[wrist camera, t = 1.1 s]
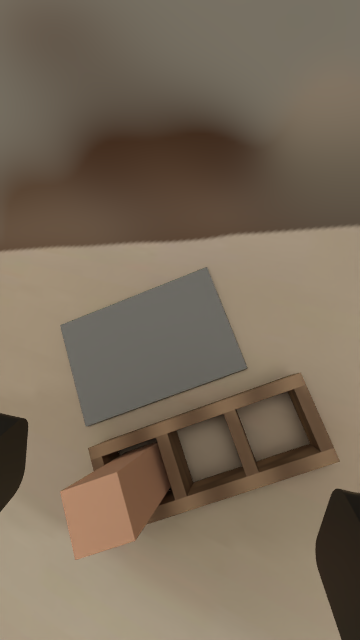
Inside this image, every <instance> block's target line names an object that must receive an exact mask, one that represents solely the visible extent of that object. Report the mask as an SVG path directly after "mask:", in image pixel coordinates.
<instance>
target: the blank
mask: <svg viewBox="0 0 360 640" xmlns="http://www.w3.org/2000/svg"><path fill="white" fill-rule="evenodd" d="M170 487H171V485H170V482H169V478H168V475H167V472H166V469H165V465H164V462H163V459H162V455H161V452H160V449H159V446H158V442H154V443H151V444H149V445H146V446H143V447H140V448H137V449H134V450H131V451H129V452H126V453H124V454H122V455H121V456H119V457H117V458H116V459H114V460H112V461H111V462H109V463H107V464H106V465H104V466H102V467H101V468H99V469H97V470H95V471H94V472H92V473H90V474H89V475H87V476H85V477H84V478H82V479H80V480H79V481H77V482H75V483H74V484H72V485H70V486H69V487H67V488H65V489H64V490H62V491H60V493H61V497H62V502H63V506H64V511H65V515H66V520H67V524H68V529H69V533H70V538H71V542H72V547H73V552H74V556H75V560H77V559H80V558H83V557H86V556H89V555H92V554H96V553H99V552H102V551H105V550H108V549H111V548H114V547H117V546H120V545H124V544H127V543H130V542H133V541H135V540H136V539H137V537H138V536H139V534H140V533H141V531H142V530H143V528H144V527H145V525H146V524H147V522H148V521H149V519H150V518H151V516H152V514H153V513H154V511H155V510H156V508H157V507H158V505H159V504H160V502H161V501H162V499H163V498H164V496H165V495H166V493H167V492H168V490H169V488H170Z"/></svg>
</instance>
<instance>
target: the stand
mask: <svg viewBox="0 0 360 640" xmlns="http://www.w3.org/2000/svg"><path fill="white" fill-rule="evenodd" d="M286 391H288V393H289V395H290V397H291V400H292V402H293V405H294V407H295V409H296V412H297V414H298V416H299V419H300V421H301V423H302V426H303V428H304V430H305V433H306V435H307V437H308V440H309V442H310V444H308V445H305V446H302V447H299V448H296V449H293V450H290V451H287V452H284V453H281V454H278V455H275V456H272V457H269V458H266V459H263V460H260V461H257V462H256V461H255V458H254V455H253V453H252V450H251V447H250V445H249V442H248V439H247V437H246V434H245V431H244V429H243V426H242V423H241V421H240V418H239V416H238V413H237V410H236V409H238V408H241V407H244V406H247V405H249V404H252V403H255V402H258V401H261V400H264V399H267V398H269V397H272V396H275V395H278V394H281V393H284V392H286ZM221 414H224V416H225V419H226V422H227V425H228V427H229V430H230V433H231V435H232V438H233V441H234V444H235V446H236V449H237V452H238V455H239V457H240V460H241V463H242V465H243V466H242V467H239V468H236V469H233V470H230V471H227V472H224V473H221V474H218V475H215V476H212V477H209V478H206V479H203V480H200V481H197V482H194V483H193V481H192V478H191V475H190V471H189V468H188V465H187V462H186V459H185V456H184V453H183V450H182V447H181V444H180V441H179V438H178V434H177V431H176V430H178V429H181V428H184V427H187V426H190V425H193V424H195V423H198V422H201V421H204V420H207V419H210V418H212V417H215V416H218V415H221ZM153 438H156V439H157V442H158V446H159V449H160V452H161V455H162V459H163V462H164V465H165V469H166V472H167V475H168V478H169V482H170V485H171V488H172V490H170V491H168V492H167V493H166V495H165V496H164V498H163V499H162V501H161V502H160V504H159V505H158V507H157V508H156V510H155V511H154V513H153V514H152V516H151V518H150V519H149V521H148V522H147V524H149V523H152V522H155V521H158V520H162V519H165V518H168V517H171V516H174V515H177V514H180V513H183V512H186V511H189V510H192V509H195V508H198V507H202V506H205V505H208V504H211V503H214V502H217V501H220V500H223V499H226V498H229V497H232V496H235V495H238V494H241V493H245V492H248V491H251V490H254V489H257V488H260V487H263V486H266V485H269V484H272V483H275V482H278V481H281V480H284V479H288V478H291V477H294V476H297V475H300V474H303V473H306V472H309V471H312V470H315V469H318V468H321V467H324V466H327V465H331V464H334V463H337V462H340V460H339V458H338V456H337V454H336V451H335V449H334V447H333V445H332V442H331V440H330V438H329V436H328V433H327V431H326V429H325V427H324V424H323V422H322V420H321V417H320V415H319V413H318V411H317V408H316V406H315V404H314V402H313V399H312V397H311V395H310V393H309V390H308V388H307V386H306V384H305V381H304V379H303V377H302V375H301V373H297V374H293V375H290V376H287V377H284V378H281V379H278V380H276V381H273V382H270V383H267V384H264V385H262V386H259V387H256V388H253V389H250V390H248V391H245V392H242V393H239V394H236V395H234V396H231V397H228V398H225V399H222V400H219V401H217V402H214V403H211V404H208V405H205V406H203V407H200V408H197V409H194V410H191V411H189V412H186V413H183V414H180V415H177V416H174V417H172V418H169V419H166V420H163V421H160V422H158V423H155V424H152V425H149V426H146V427H144V428H141V429H138V430H135V431H132V432H129V433H127V434H124V435H121V436H118V437H115V438H113V439H110V440H107V441H104V442H102V443H100V444H97V445H95V446H92V447H90V448H88V450H89V454H90V458H91V462H92V466H93V470H94V471H95V470H97V469H99V468H101V467H102V466H104V465H106V464H107V463H109V462H111V461H112V460H114V459H116V458H117V457H119V456H120V455H119V450H121V449H124V448H127V447H130V446H133V445H136V444H138V443H141V442H144V441H147V440H150V439H153Z"/></svg>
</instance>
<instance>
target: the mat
mask: <svg viewBox="0 0 360 640" xmlns="http://www.w3.org/2000/svg"><path fill="white" fill-rule="evenodd" d="M60 326H61V330H62V334H63V338H64V342H65V346H66V350H67V354H68V358H69V362H70V366H71V370H72V374H73V378H74V382H75V386H76V390H77V394H78V398H79V402H80V406H81V409H82V413H83V417H84V421H85V425H86V426H89V425H92V424H95V423H98V422H100V421H103V420H106V419H109V418H112V417H114V416H117V415H120V414H123V413H125V412H128V411H131V410H134V409H136V408H139V407H142V406H145V405H147V404H150V403H153V402H156V401H158V400H161V399H164V398H167V397H169V396H172V395H175V394H178V393H181V392H183V391H186V390H189V389H192V388H194V387H197V386H200V385H203V384H205V383H208V382H211V381H214V380H216V379H219V378H222V377H225V376H227V375H230V374H233V373H236V372H238V371H241V370H244V369H247V366H246V364H245V361H244V359H243V356H242V354H241V351H240V349H239V346H238V344H237V341H236V339H235V336H234V334H233V331H232V329H231V326H230V324H229V321H228V319H227V316H226V314H225V311H224V309H223V306H222V304H221V301H220V299H219V296H218V294H217V291H216V289H215V286H214V284H213V281H212V279H211V276H210V274H209V271H208V269H207V267H206V268H203V269H201V270H198V271H196V272H193V273H191V274H188V275H186V276H183V277H180V278H178V279H175V280H173V281H170V282H168V283H165V284H163V285H160V286H158V287H155V288H153V289H150V290H148V291H145V292H143V293H140V294H138V295H135V296H133V297H130V298H128V299H125V300H123V301H120V302H118V303H115V304H113V305H110V306H108V307H105V308H102V309H100V310H97V311H95V312H92V313H90V314H87V315H85V316H82V317H80V318H77V319H75V320H72V321H70V322H67V323H65V324H62V325H60Z"/></svg>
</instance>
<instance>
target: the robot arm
mask: <svg viewBox="0 0 360 640" xmlns="http://www.w3.org/2000/svg"><path fill="white" fill-rule="evenodd" d="M27 436H28V422H27V420H26V419H24V418H20V417H15V416H11V415H6V414H2V413H0V512H1V510H2V509H3V508H4V507H5V506H6V504H7V503H8V502H9V501H10V499H11V498H12V497H13V496H14V494H15V493H16V491H17V490H18V488H19V486H20V484H21V481H22V479H23V475H24V471H25V462H26V449H27ZM316 562H317V567H318V570H319V573H320V576H321V579H322V582H323V585H324V588H325V591H326V594H327V597H328V600H329V603H330V606H331V609H332V612H333V615H334V618H335V621H336V624H337V627H338V630H339V633H340V636H341V639H342V640H360V493H355V492H351V491H346V490H342V489H335V490H334V491H333V492H332V494H331V497H330V500H329V503H328V506H327V509H326V512H325V515H324V518H323V521H322V524H321V527H320V530H319V533H318V536H317V540H316Z"/></svg>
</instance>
